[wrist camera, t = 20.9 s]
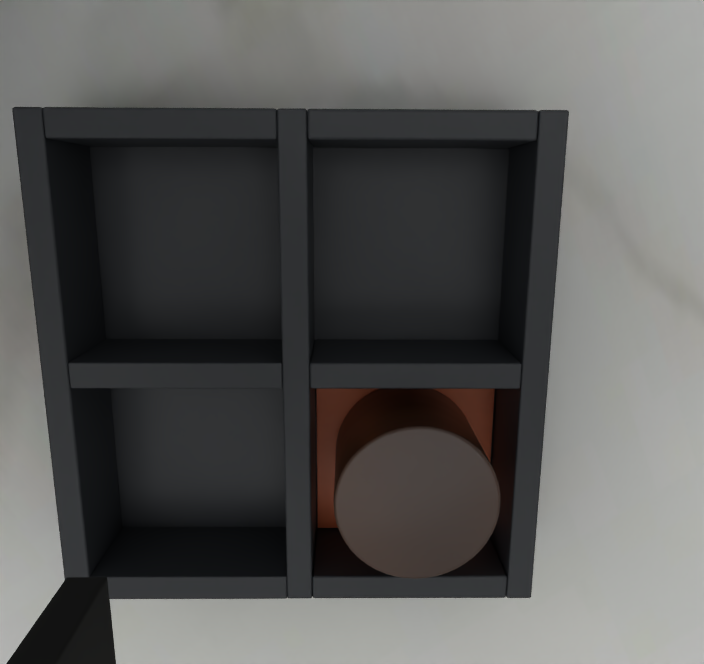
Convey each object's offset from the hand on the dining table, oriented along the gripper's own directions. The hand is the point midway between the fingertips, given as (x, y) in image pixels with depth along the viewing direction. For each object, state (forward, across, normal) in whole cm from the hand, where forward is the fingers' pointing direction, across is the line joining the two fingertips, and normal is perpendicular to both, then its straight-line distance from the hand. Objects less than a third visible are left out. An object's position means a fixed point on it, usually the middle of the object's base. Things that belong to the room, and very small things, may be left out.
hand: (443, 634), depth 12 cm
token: (+10, 0, 0) cm, 10 cm away
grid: (+10, -3, +3) cm, 11 cm away
